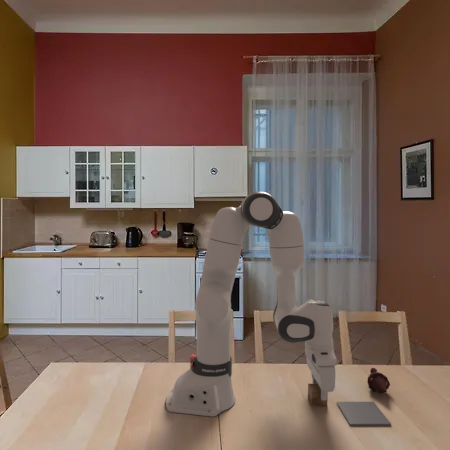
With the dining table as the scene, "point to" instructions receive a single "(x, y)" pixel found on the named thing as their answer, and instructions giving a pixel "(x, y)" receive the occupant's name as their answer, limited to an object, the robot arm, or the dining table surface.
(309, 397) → the cube
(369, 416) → the coaster
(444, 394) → the dining table surface
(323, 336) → the robot arm
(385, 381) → the icecream
